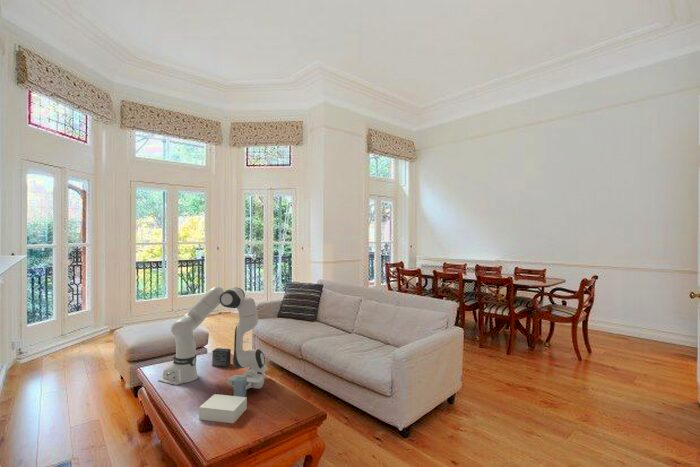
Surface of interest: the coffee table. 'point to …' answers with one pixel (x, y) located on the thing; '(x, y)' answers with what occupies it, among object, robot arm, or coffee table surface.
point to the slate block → (240, 386)
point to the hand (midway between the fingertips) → (239, 387)
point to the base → (223, 408)
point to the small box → (221, 357)
